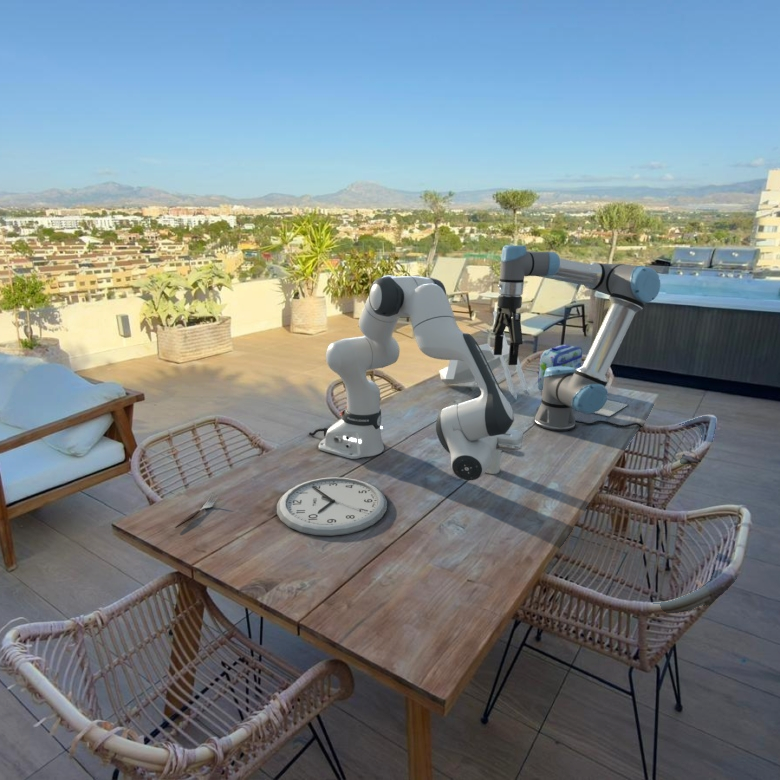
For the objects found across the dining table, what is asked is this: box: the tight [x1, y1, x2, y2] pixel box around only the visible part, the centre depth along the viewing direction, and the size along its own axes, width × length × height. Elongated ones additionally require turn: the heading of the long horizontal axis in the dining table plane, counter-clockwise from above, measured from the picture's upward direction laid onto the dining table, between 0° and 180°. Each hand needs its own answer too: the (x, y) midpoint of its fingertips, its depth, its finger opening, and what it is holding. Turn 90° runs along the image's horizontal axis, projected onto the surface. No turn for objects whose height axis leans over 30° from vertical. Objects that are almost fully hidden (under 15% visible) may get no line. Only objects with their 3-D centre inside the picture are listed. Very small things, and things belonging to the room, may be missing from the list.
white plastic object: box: [438, 310, 531, 400], centre depth 245 cm, size 37×45×31 cm
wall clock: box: [276, 476, 388, 537], centre depth 142 cm, size 30×2×30 cm
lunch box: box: [537, 344, 583, 391], centre depth 246 cm, size 26×11×21 cm, turn 134°
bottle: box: [485, 449, 502, 475], centre depth 162 cm, size 5×5×19 cm
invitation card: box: [593, 399, 629, 418], centre depth 226 cm, size 21×1×15 cm
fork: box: [174, 492, 220, 529], centre depth 137 cm, size 3×16×2 cm, turn 160°
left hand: (488, 425), depth 148 cm, fingers open, 8 cm apart
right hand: (504, 359), depth 174 cm, fingers open, 13 cm apart
